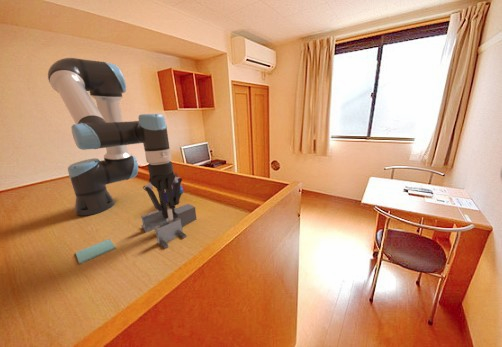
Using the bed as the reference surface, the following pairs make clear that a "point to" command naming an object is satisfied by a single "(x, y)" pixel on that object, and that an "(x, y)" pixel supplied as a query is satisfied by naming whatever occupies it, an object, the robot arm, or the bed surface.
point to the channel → (162, 227)
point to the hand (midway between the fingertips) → (170, 224)
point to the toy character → (180, 187)
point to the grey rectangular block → (185, 214)
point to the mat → (94, 251)
